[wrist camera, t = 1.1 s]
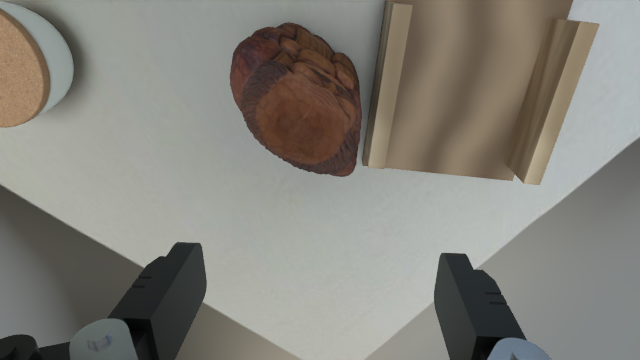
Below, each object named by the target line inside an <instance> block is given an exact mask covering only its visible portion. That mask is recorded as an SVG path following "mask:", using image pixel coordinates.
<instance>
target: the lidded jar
mask: <svg viewBox="0 0 640 360" xmlns="http://www.w3.org/2000/svg"><path fill="white" fill-rule="evenodd" d="M73 74H74V64H73V58H72V54H71V52H70V49H69V47H68V45H67V43H66V41H65V40H64V38H63V37H62V35H61V34H60V33H59V32H58V31H57V29H56V28H55V27H54V26H53V25H51V24H50V23H49V22H48V21H47V20H46V19H44V18H43V17H41V16H40V15H38V14H36V13H34V12H33V11H31V10H29V9H27V8H24V7H22V6H19V5H16V4H12V3H8V2H3V1H0V127H13V126H17V125H20V124H23V123H25V122H28V121H29V120H31V119H33V118H35V117H36V116H38V115H40V114H42V113H44V112H46V111H48V110H49V109H51V108H52V107H54V106H55V105H56V104H57V103H58V102H60V101H61V100H62V99H63V98H64V96H65V95H66V94H67V92H68V90H69V88H70V86H71V84H72V80H73Z"/></svg>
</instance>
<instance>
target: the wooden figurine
mask: <svg viewBox="0 0 640 360" xmlns="http://www.w3.org/2000/svg"><path fill="white" fill-rule="evenodd" d="M230 85H231V89H232V93H233V97H234V100H235V102H236V104H237V106H238V107H239V109H240V111H241V112H242V114H243V117H244V118H245V120H244V121H245V122H246V123H247V127H248V128H249V130H250V132H251V133H252V134H253V135H254V138H255V139H257V140H258V141H259V142H260V144H261V145H263V146H265V148H266V149H267V150H269V151H270V152H272V153H273V154H274V155H277V156H278V157H279V158H282V159H283V160H284V161H286V162H288V163H291V164H292V165H293V166H294V167H298V168H299V169H303V170H306V171H308V172H314V173H317V174H330V175H333V176H340V177H344V176H348V175H350V174H351V173H352V172H353V171H354V168H355V166H356V158H357V151H358V144H359V141H360V129H361V118H362V112H361V103H360V91H359V80H358V76H357V73H356V70H355V67H354V65H353V63H352V62H351V60H350V59H349V58H348V57H347V56H346V55H345V54H343V53H336V54H335V53H334V51H333V50H332V49H331V47H330V46H329V45H328V43H326V42H325V40H323V39H322V38H321V37H319V36H317V35H312V34H311V33H310V32H309V31H308V30H307V29H305V28H303V27H302V26H300V25H297V24H293V23H284V24H282V25H280V26H278V27H277V28H274V27H266V28H263V29H260V30H257V31H255V32H254V33H253V35H252V36H250V37H248V38H246V39H245V40H244V41H242V42H241V43H240V44H239V45H238V46H237V48H236V49H235V51H234V53H233V59H232V65H231V73H230Z"/></svg>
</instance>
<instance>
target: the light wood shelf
mask: <svg viewBox="0 0 640 360" xmlns="http://www.w3.org/2000/svg"><path fill="white" fill-rule="evenodd" d="M572 2H573V0H386V2H385V8H384V15H383V22H382V29H381V36H380V42H379V49H378V56H377V63H376V70H375V76H374V83H373V90H372V97H371V104H370V110H369V117H368V124H367V131H366V138H365V144H364V151H363V158H362V163H363V166H368V167H370V168H379V169H384V168H392V169H402V170H412V171H421V172H431V173H441V174H450V175H460V176H470V177H480V178H489V179H499V180H509V181H513V178H514V175H516V176H517V177H518V178H519V179H520V180H521V181H522V182H523V183H525V184H535V185H540V183H541V180H542V177H543V175H544V172H545V169H546V167H547V164H548V161H549V159H550V156H551V153H552V151H553V148H554V145H555V143H556V140H557V137H558V134H559V132H560V129H561V126H562V124H563V121H564V118H565V116H566V113H567V110H568V108H569V105H570V102H571V100H572V97H573V94H574V91H575V89H576V86H577V83H578V81H579V78H580V75H581V73H582V70H583V67H584V65H585V62H586V59H587V57H588V54H589V51H590V48H591V46H592V43H593V40H594V38H595V35H596V32H597V30H598V27H599V24H596V23H589V22H581V21H573V20H567V17H568V14H569V11H570V8H571V5H572Z"/></svg>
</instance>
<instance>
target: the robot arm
mask: <svg viewBox="0 0 640 360" xmlns="http://www.w3.org/2000/svg"><path fill="white" fill-rule="evenodd" d="M206 284H207V282H206V273H205V266H204V259H203V252H202V247H201V244H200V243H186V242H177V243H175V245H174V246H173V247H172V249H171V250H170V252H169V253H168V255H167V256H166V257H163V256H160V257H158V258H157V259H155V260H154V261H152V262H151V263H150V264H148V265H147V266H146V267H145V268H144V270H143V271H142V272H141V274H140V275H139V277H138V279H136V280H135V282H134V283H133V285H132V287H131V288H130V289H129V290H128V291H127V292H126V294H125V295H124V297H123V298H122V299H121V301H120V302H119V303H118V304H117V306H116V307H115V308H114V310H113V311H112V312H111V314H110V315H109V317H108V318H107V319H103V320H99V321H96V322H94V323H91V324H90V325H88V326H86V327H84V328H83V329H81V330H80V331H79V332H78V333H77V334H76V335H75V336H74V338H73V339H72V341H71V342H67V343H62V344H57V345H52V346H46V347H41V348H38V346H37V343H36V341H35V339H34V338H33V337H31V336H29V335H22V334H21V335H13V336H9V337H5V338H3V339H0V360H175V358H176V356H177V354H178V352H179V350H180V347H181V345H182V343H183V341H184V339H185V337H186V335H187V333H188V331H189V329H190V327H191V324H192V322H193V320H194V318H195V316H196V314H197V312H198V310H199V307H200V305H201V303H202V301H203V299H204V296H205V293H206ZM434 303H435V310H436V313H437V317H438V320H439V323H440V327H441V330H442V333H443V337H444V340H445V344H446V347H447V351H448V354H449V357H450V360H552V359H551V358H550V357H549V355H548V354H547V353H546V352H545V351H544V350H542V349H541V348H539V347H538V346H537V345H535V344H533V343H531V342H529V341H527V339H526V338H525V336H524V334H523V332H522V330H521V328H520V326H519V325H518V323H517V321H516V319H515V317H514V315H513V313H512V312H511V310H510V308H509V306H508V305H507V302H506V300H505V299H504V297H503V295H501V291H500V289H499V287H498V286H497V284H496V282H495V280H494V279H492V278H491V277H490V276H489V275H488V274H487V273H485V272H484V271H483V270H474V269H473V267H472V265H471V263H470V261H469V259H468V257H467V255H466V254H458V253H441V255H440V259H439V265H438V271H437V277H436V284H435V290H434Z"/></svg>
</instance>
